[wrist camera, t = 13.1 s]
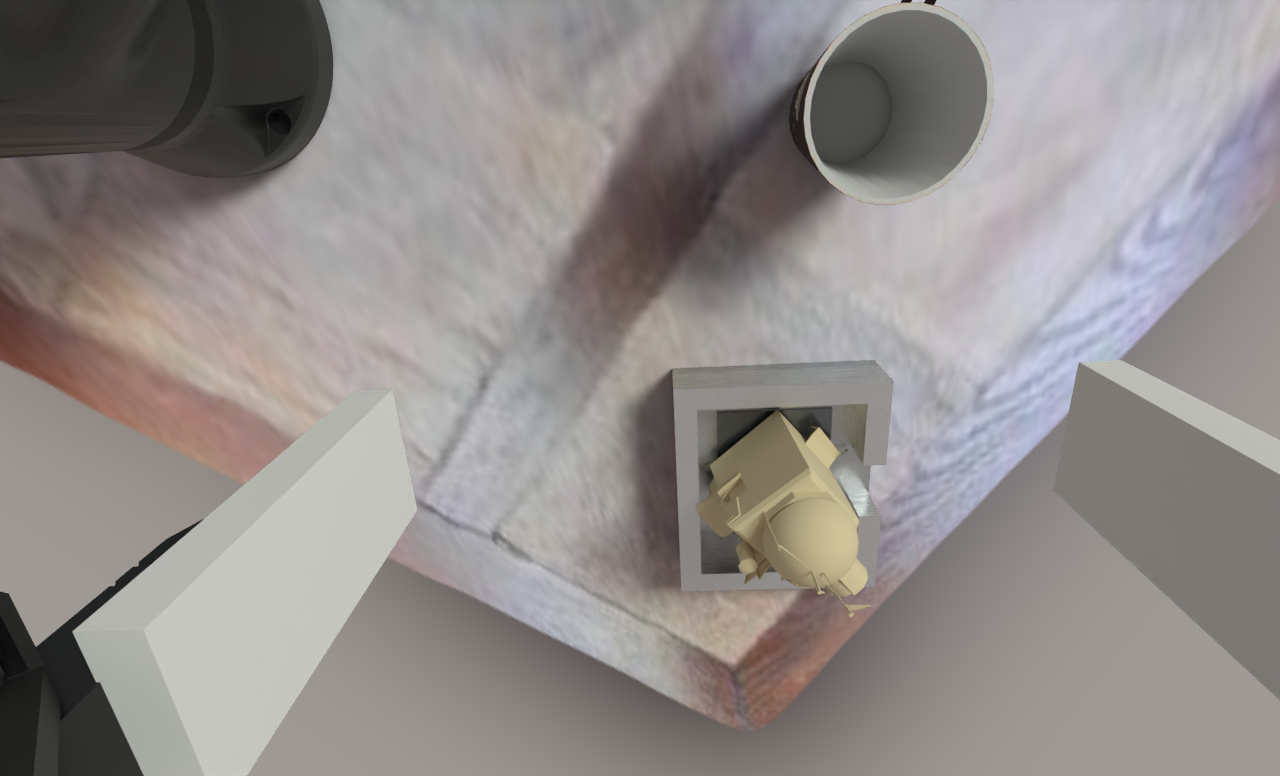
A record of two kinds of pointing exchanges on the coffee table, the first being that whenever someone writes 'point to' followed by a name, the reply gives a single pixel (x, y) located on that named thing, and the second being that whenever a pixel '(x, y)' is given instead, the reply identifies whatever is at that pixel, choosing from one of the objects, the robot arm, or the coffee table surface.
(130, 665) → the robot arm
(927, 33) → the coffee mug
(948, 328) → the coffee table surface
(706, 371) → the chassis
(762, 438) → the robot
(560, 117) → the coffee table surface
